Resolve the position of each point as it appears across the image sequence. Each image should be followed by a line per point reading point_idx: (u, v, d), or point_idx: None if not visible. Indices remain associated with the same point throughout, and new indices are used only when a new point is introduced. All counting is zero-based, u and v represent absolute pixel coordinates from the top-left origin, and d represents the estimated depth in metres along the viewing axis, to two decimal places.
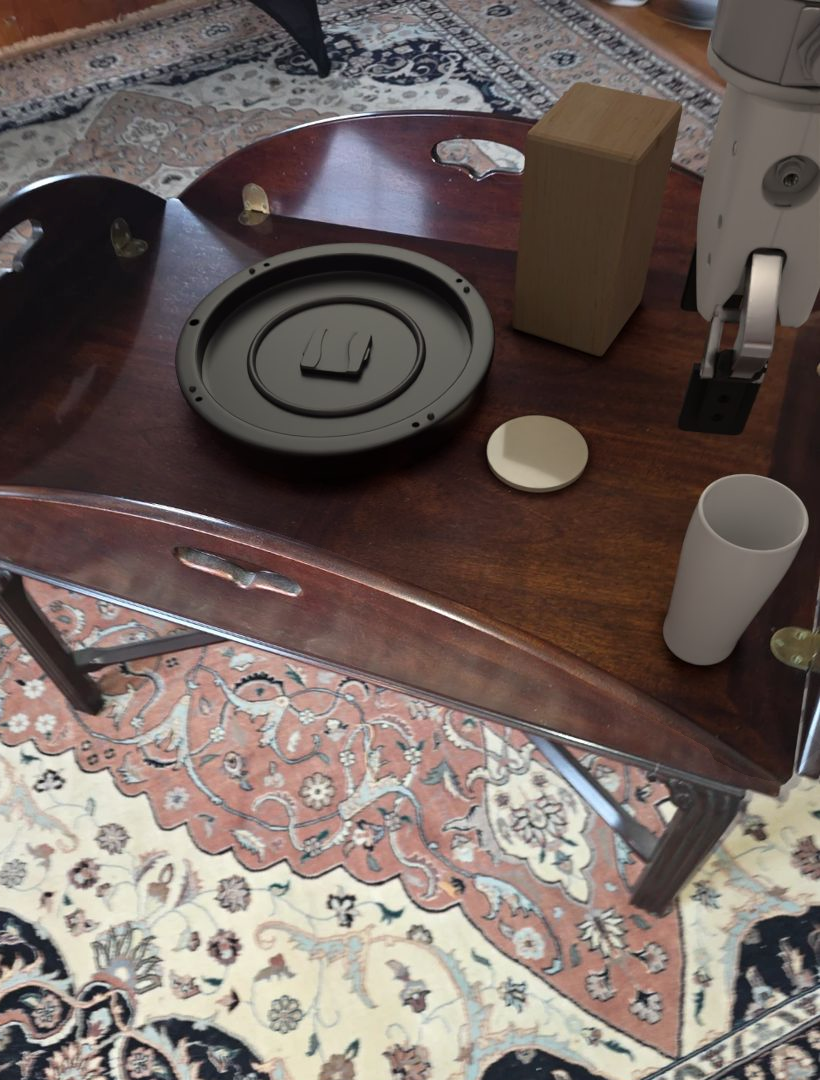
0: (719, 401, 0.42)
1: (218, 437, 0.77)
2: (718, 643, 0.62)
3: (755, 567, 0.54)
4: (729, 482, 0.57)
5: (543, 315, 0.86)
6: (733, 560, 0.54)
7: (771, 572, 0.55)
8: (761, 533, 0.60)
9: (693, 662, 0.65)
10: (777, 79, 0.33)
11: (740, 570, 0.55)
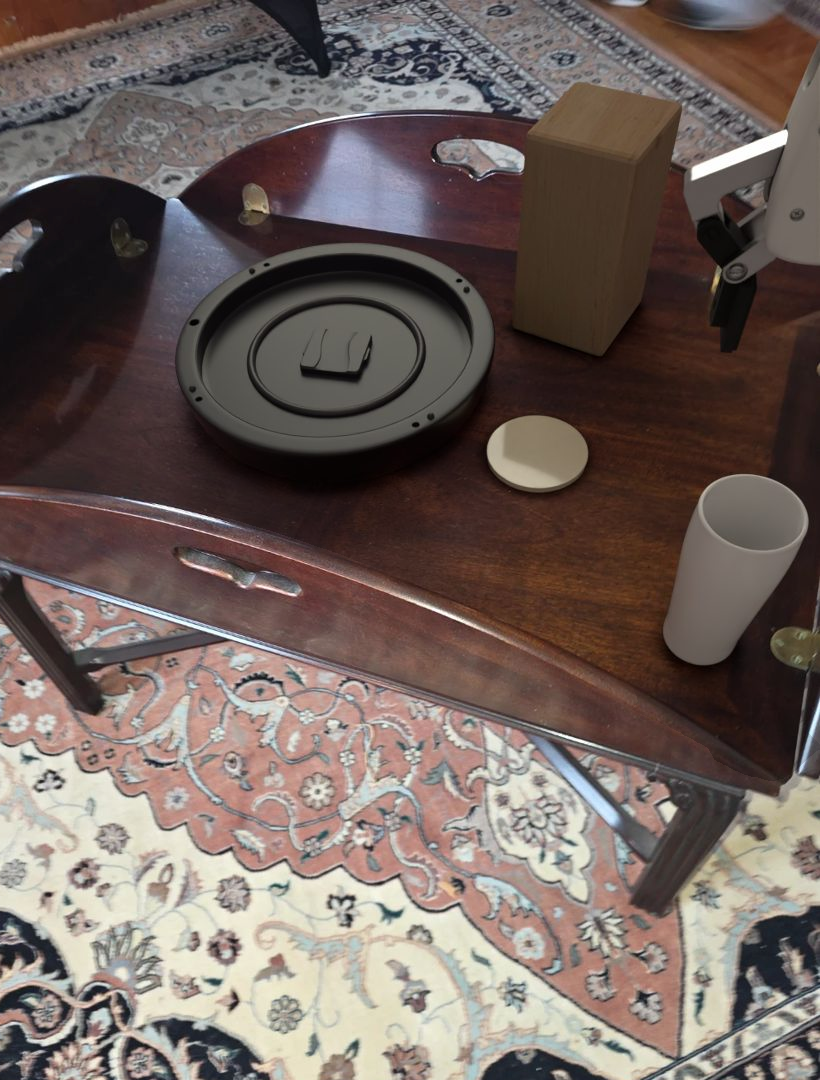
0: (720, 285, 0.43)
1: (218, 437, 0.77)
2: (718, 643, 0.62)
3: (755, 567, 0.54)
4: (729, 482, 0.57)
5: (543, 315, 0.86)
6: (733, 560, 0.54)
7: (771, 572, 0.55)
8: (761, 533, 0.60)
9: (693, 662, 0.65)
10: None
11: (740, 570, 0.55)
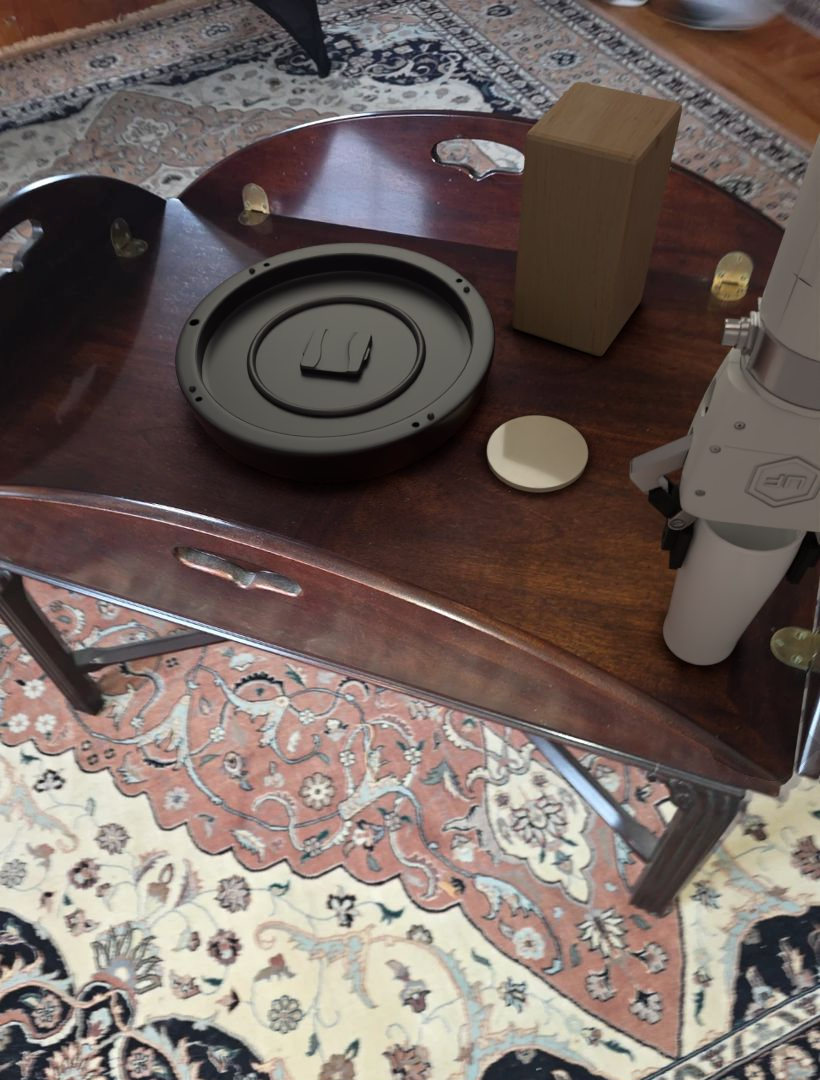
0: (668, 523, 0.58)
1: (218, 437, 0.77)
2: (718, 643, 0.62)
3: (755, 567, 0.54)
4: None
5: (543, 315, 0.86)
6: (733, 560, 0.54)
7: (771, 572, 0.55)
8: (761, 533, 0.60)
9: (693, 662, 0.65)
10: None
11: (740, 570, 0.55)
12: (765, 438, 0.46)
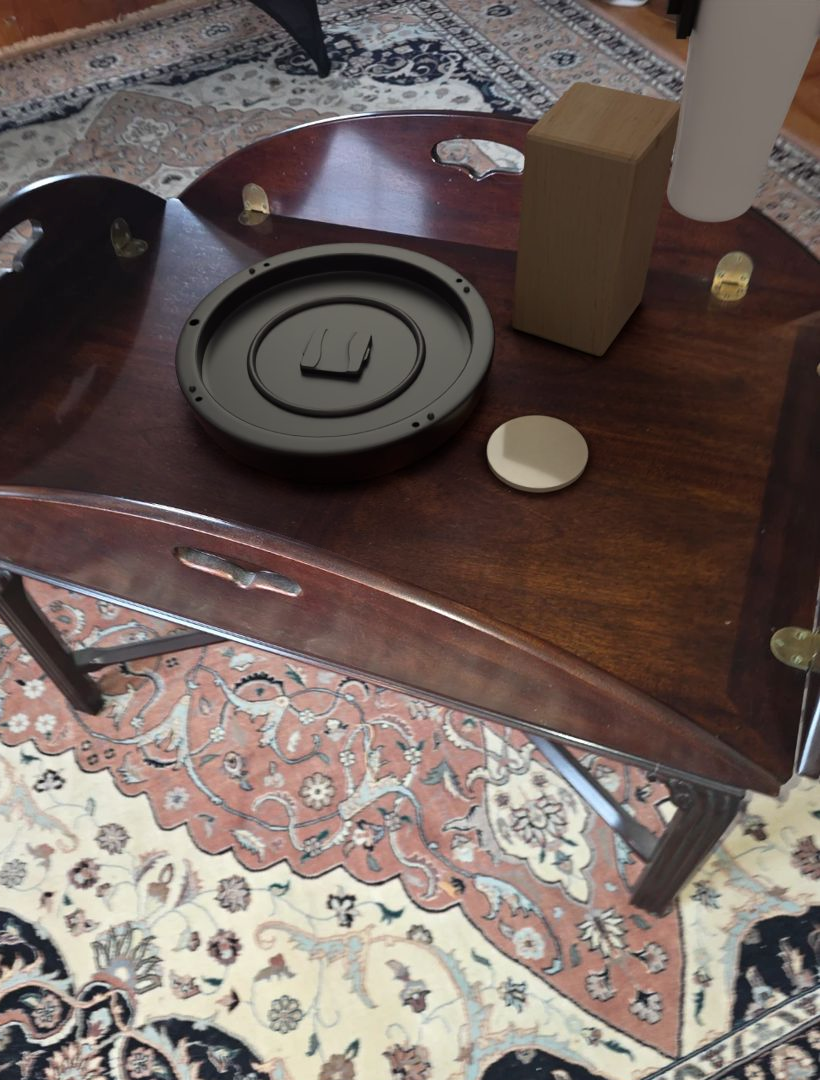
0: None
1: (218, 437, 0.77)
2: (736, 168, 0.51)
3: None
4: None
5: (543, 315, 0.86)
6: None
7: None
8: None
9: (704, 216, 0.54)
10: None
11: None
12: None
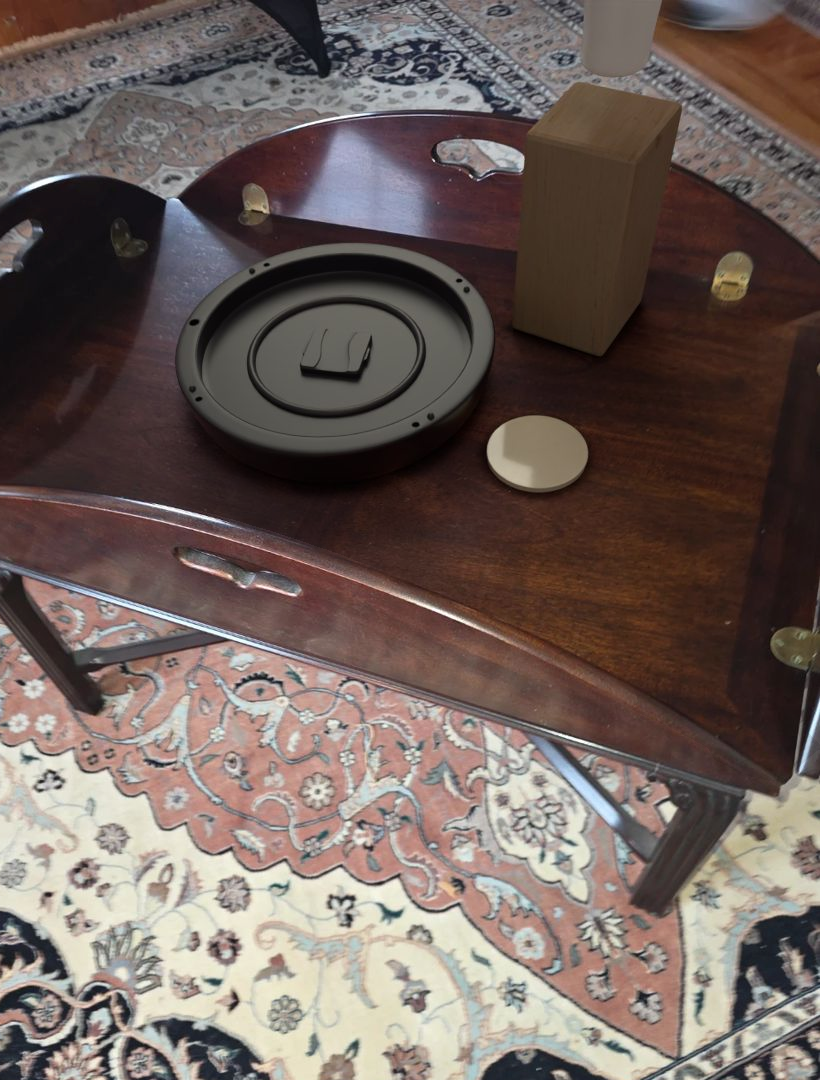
0: None
1: (218, 437, 0.77)
2: (628, 27, 0.65)
3: None
4: None
5: (543, 315, 0.86)
6: None
7: None
8: None
9: (607, 71, 0.68)
10: None
11: None
12: None
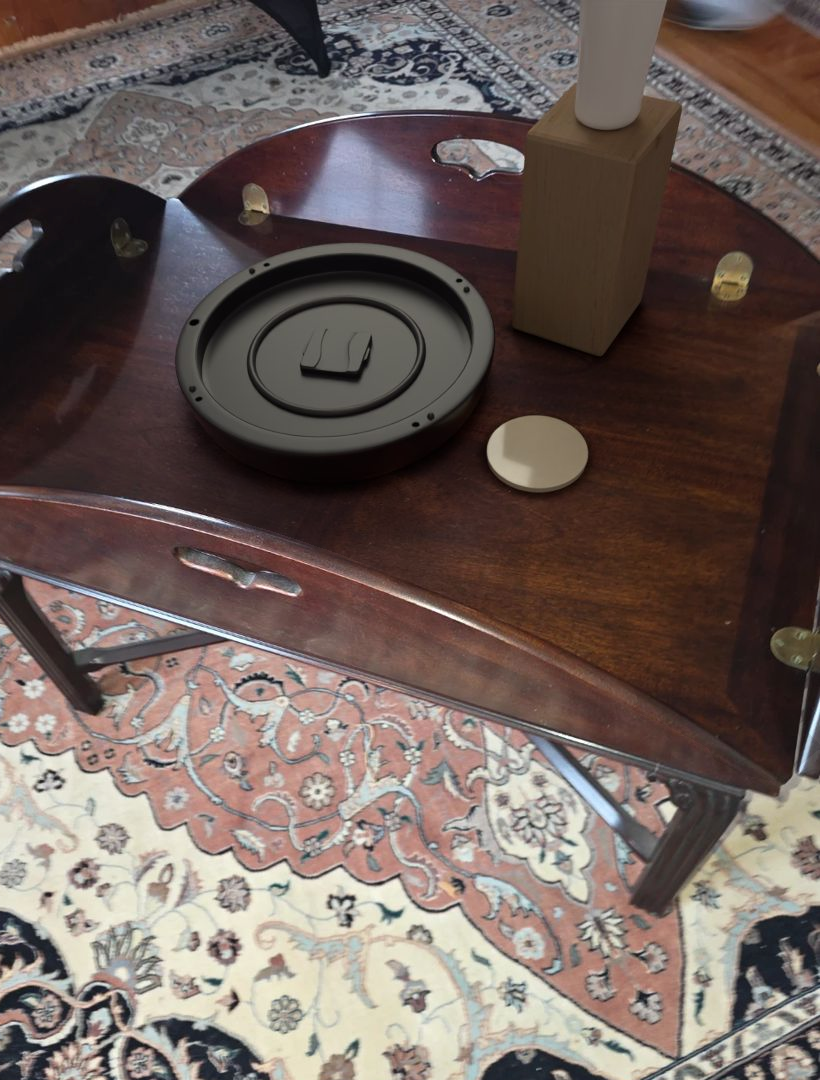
0: None
1: (218, 437, 0.77)
2: (619, 85, 0.68)
3: None
4: None
5: (543, 315, 0.86)
6: None
7: None
8: None
9: (600, 124, 0.71)
10: None
11: None
12: None
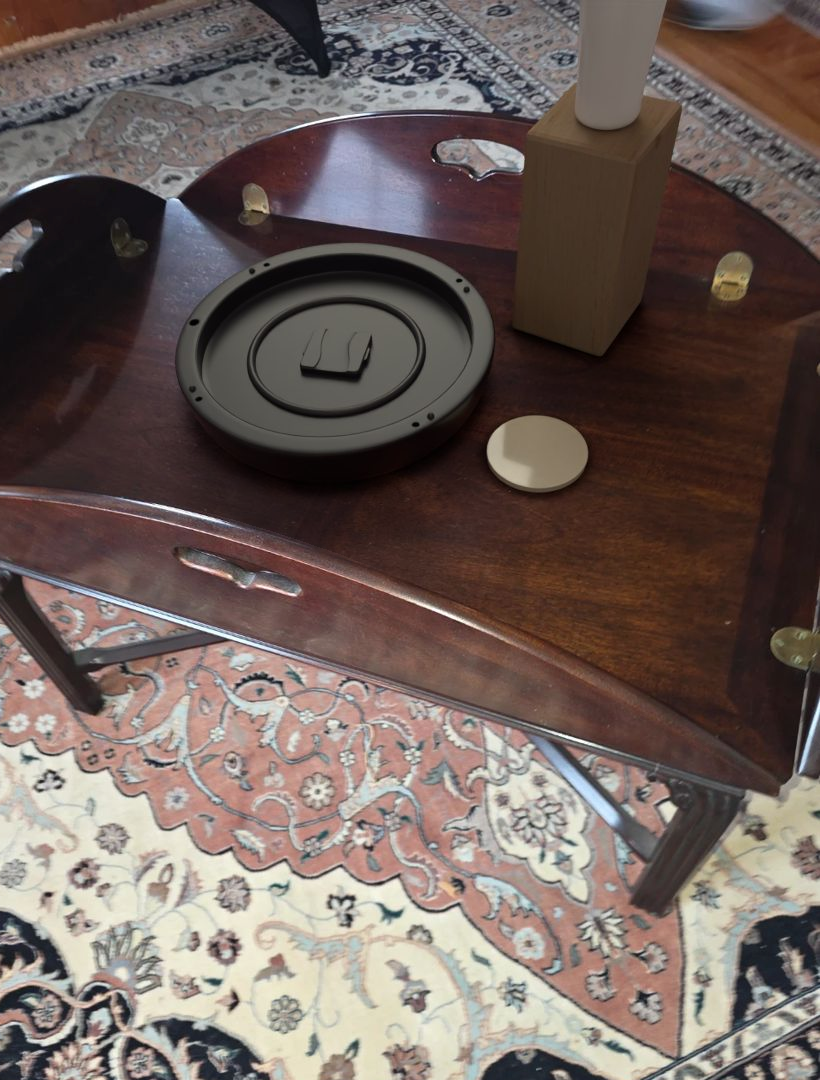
0: None
1: (218, 437, 0.77)
2: (619, 85, 0.68)
3: None
4: None
5: (543, 315, 0.86)
6: None
7: None
8: None
9: (600, 124, 0.71)
10: None
11: None
12: None
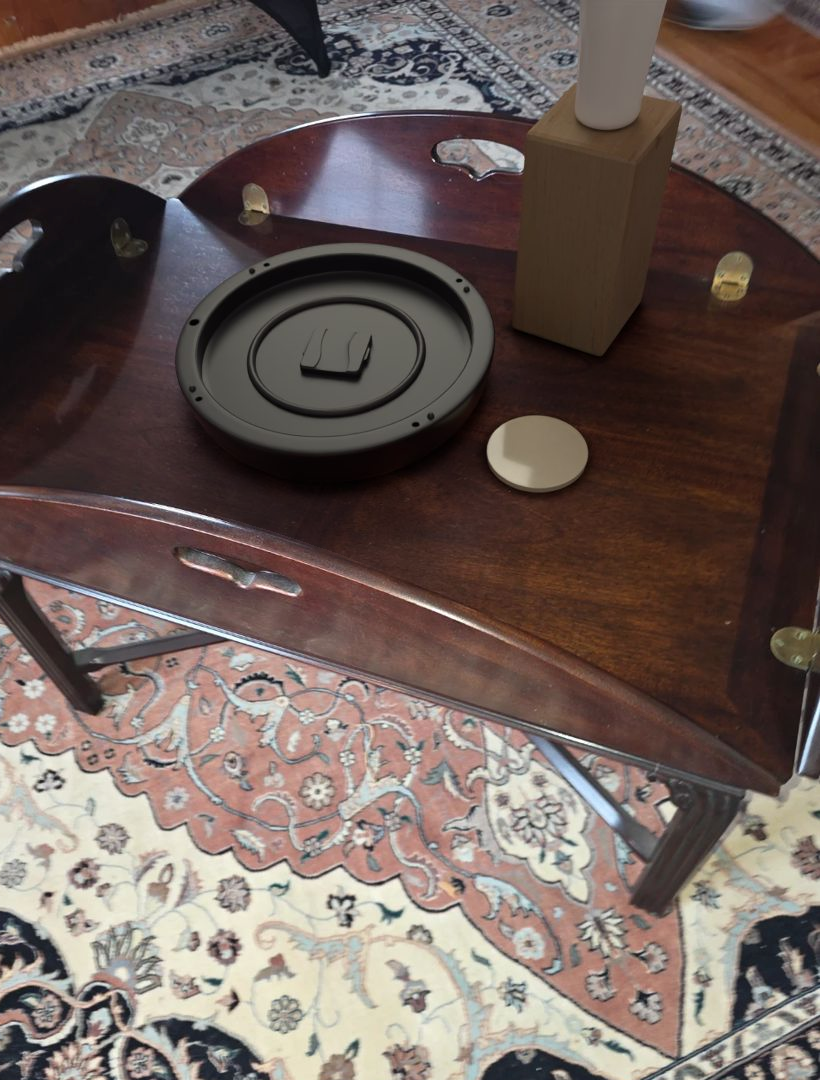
0: None
1: (218, 437, 0.77)
2: (619, 85, 0.68)
3: None
4: None
5: (543, 315, 0.86)
6: None
7: None
8: None
9: (600, 124, 0.71)
10: None
11: None
12: None
